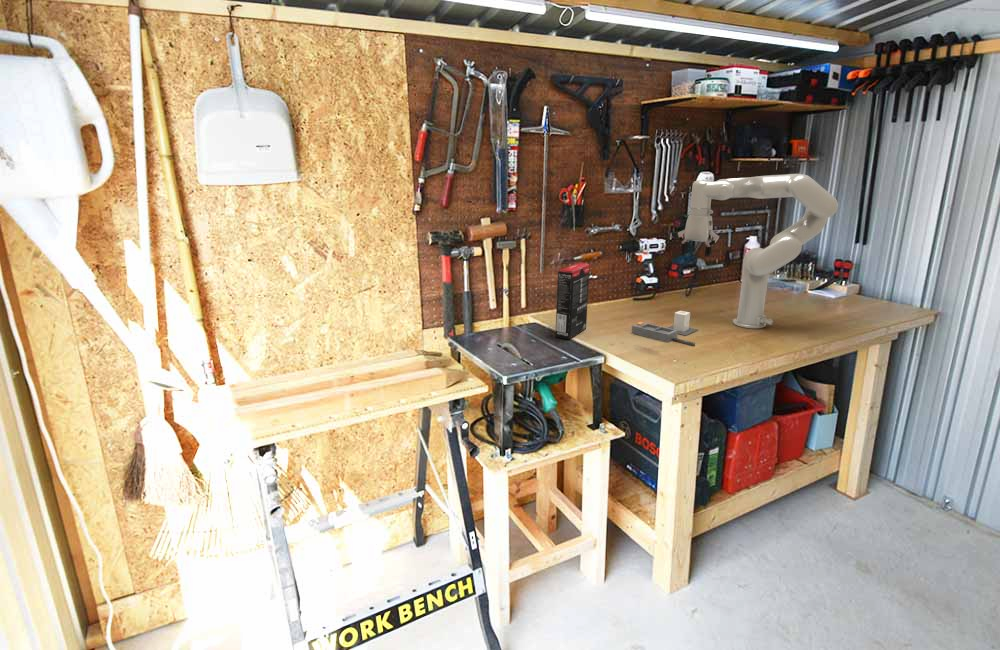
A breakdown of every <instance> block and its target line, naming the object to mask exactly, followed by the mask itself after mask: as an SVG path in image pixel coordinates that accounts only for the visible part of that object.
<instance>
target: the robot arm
mask: <svg viewBox="0 0 1000 650" xmlns="http://www.w3.org/2000/svg"><path fill="white" fill-rule="evenodd" d="M730 198H750V199H751V198H752V199H780V198H794V199H795V200H797V201H798V202H799V203H800V204H801V205H802V206H803V207H805V210H804V211H805V212H804V214H803V216H802V217H801V218H800V219H799V220H798V221H796V222H795V223H793V224H792V225H790V226H789V227H787V228H786V229H784V230H782V231H780V232H779V233H777V234H776V235H773V237H772V238H771V239H770V242H769V245H768V246H766V247H764V248H762V247H754V248H751V249H749V250H748V251H746V253H745V255H744V256H743V261H742V277H741V278H742V279H741V287H740V294H739V302H738V310H737V317H735V318H734V319H732V323H733V325H735V326H738V327H741V328H744V329H745V328H746V329H762V328H765V327H767V325H769V326H773V323H774V320H773V319H772V318H768V317H766V316H767V315H766V314H764V312H765V311H764V310H765V304H766V297H767V288H768V283H769V275H770V274H772V273H774V272H775V271H777V270H779V269H780V268H782V267H784V266H786V265H787V264H788V263H790V262H792V261H793V260H795V259H796V258H797V257H798V256H799V255H800V254H801V252H802V246H803V245H804V244H807V242H809V241H811V240H812V239H814V238H815V237H816V236H817V235H819V234H820V232H822V231H823V229H824V228H825V226H826V224H827V221H828V218H830V217H832V216H834V215H835V214H836V213H837V211H838V209H839V202H838V200H837V198H836V197H835V196H834V195H832V194H831V193H830V192H829V191H828V190H826V189H825V188H824V187H823V186H821V185H820V184H819V183H818V182H817V181H816V180H814V179H813V178H812V177H810V175H807V174H804V173H803V174H802V173H788V174H771V175H770V174H769V175H760V176H758V175H756V176H751V177H749V176H748V177H737V178H736V177H734V178H721V179H718V180H716V181H711V180H703V179H702V180H695V181H693V183H692V188H691V198H690V199H691V200H690V209H689V212H690V213H689V215H688V216H687V219H686V223H685V228H684V229H683V230H681V231H678V232H677V235H678V239H679V241H680V242H681V244H682V248H681V250H682V254H687V253H689V246H690V244H689V242H690V241H694V242H702V243H704V244H705V245H706V246H705V250H704V257H706V258H707V257H710V256H711V254H712V247H713V246H714V245H715V244H716V243H717V242H718V240H719V239H720V235H718V234H716V233H715V232H713V225H714V224H713V216H712V215H711V214H714V210H712V208H711V204H712V200H718V201H726V200H729V199H730ZM683 234H684V236H683Z"/></svg>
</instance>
